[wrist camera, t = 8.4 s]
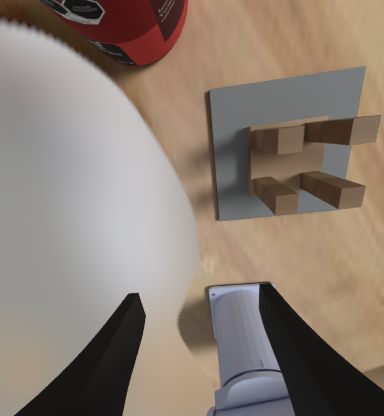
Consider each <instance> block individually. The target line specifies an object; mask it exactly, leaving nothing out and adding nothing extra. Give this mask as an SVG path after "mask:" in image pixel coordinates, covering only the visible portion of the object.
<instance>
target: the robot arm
mask: <svg viewBox="0 0 384 416" xmlns="http://www.w3.org/2000/svg"><path fill="white" fill-rule="evenodd" d="M212 293H214V294H212ZM209 298H210V307H211V315H212V323H213V332H214V338H215V339H216V340H217V350H218V362H219V374H220V386H221V389H219V390H216V391H215V407H211V408H210V410H209V411H208V413H207V416H384V390H383V389H381V388H380V387H379V386H378V385H376V384H375V383H374V382H372V381H371V380H370V379H369V378H367V377H366V376H365V375H364V374H362V373H361V372H360V371H359V370H357V369H356V368H355V367H354V366H352V365H351V364H350V363H349V362H348V361H347V360H345V359H344V358H343V357H342V356H341V355H340V354H338V353H337V352H336V351H335V350H334V349H333V348H332V347H331V346H329V345H328V344H327V343H326V342H325V341H324V340H323V339H322V338H321V337H320V336H319V335H318V334H317V333H316V332H315V331H314V330H313V329H312V328H311V327H310V326H309V325H308V324H307V323H306V322H305V321H304V320H303V319H302V318H301V317H300V316H299V315H298V314H297V313H296V312H295V311H294V310H293V309H292V307H291V306H290V305H289V304H288V303H287V302H286V301H285V300H284V298H283V297H282V296H281V295H280V294H279V293H278V291H277V290H276V289H275V286H274V284H273V283H258V284H243V285H229V286H214V287H210V288H209ZM145 318H146V315H145V312H144V309H143V306H142V303H141V299H140V296H139V293H130V294H128V295H127V296H126V298H125V299H124V300H123V301H122V303H121V304H120V305H119V307H118V308H117V309H116V311H115V312H114V313H113V314H112V316H111V317H110V318H109V320H108V321H107V322H106V323H105V325H104V326H103V327H102V328H101V330H100V331H99V332H98V333H97V334H96V336H95V337H94V338H93V339H92V340H91V341H90V343H89V344H88V345H87V346H86V347H85V348H84V349H83V350H82V352H81V353H80V354H79V355H78V356H77V357H76V358H75V359H74V360H73V361H72V362H71V363H70V365H68V367H66V368H65V369H64V370H63V371H62V372H61V373H60V375H58V376H57V377H56V378H55V379H54V380H53V381H52V382H51V383H50V384H49V385H48V386H47V387H46V388H45V389H44V390H43V391H41V393H40V394H39V395H37V396H36V397H35V398H34V399H33V400H31V401H30V402H29V403H28V404H27V405H26V406H25V407H24V408H22V409H21V410H20V411H19V412H18V413H16V415H14V416H122V414H123V410H124V405H125V399H126V395H127V390H128V386H129V382H130V379H131V375H132V371H133V368H134V364H135V361H136V357H137V354H138V350H139V347H140V343H141V339H142V336H143V330H144V325H145Z"/></svg>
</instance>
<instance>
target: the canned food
mask: <svg viewBox="0 0 384 416" xmlns="http://www.w3.org/2000/svg"><path fill="white" fill-rule="evenodd" d="M39 1H40V2H42V3H43V4H44V5H45V6H46V7H48V8H49V9H50V10H51V11H53V12H54V13H55V14H56V15H58V16H59V17H60V18H61V19H62V20H64V21H65V22H66V23H67V24H69V25H70V26H71V27H72V28H73V29H75V30H76V31H77V32H78V33H80V34H81V35H82V36H83V37H84V38H86V39H87V40H88V41H89V42H91V43H92V44H93V45H94V46H95V47H97V48H98V49H99V50H100V51H102V52H103V53H104V54H105V55H107V56H108V57H109V58H111V59H113V60H115V61H117V62H119V63H122V64H126V65H134V66H141V65H147V64H151V63H153V62H155V61H158V60H159V59H161V58H162V57H163V56H165V55H166V54H167V53H168V52H169V51H170V50H171V49H172V47H173V46H174V44H175V43H176V41H177V39H178V38H179V36H180V33H181V31H182V28H183V26H184V23H185V19H186V14H187V8H188V0H39Z"/></svg>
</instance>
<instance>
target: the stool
mask: <svg viewBox="0 0 384 416" xmlns="http://www.w3.org/2000/svg"><path fill="white" fill-rule="evenodd" d="M380 119H381V115H375V116H364V117H354V118H343V119H333V120H328V116H321V117H314V118H307V119H300V120H293V121H286V122H279V123H272V124H265V125H258V126H251V127H247V153H248V193H249V194H250V195H251V197H253V196H258V197H259V198H260V199H261V201H262V202H263V203H264V204H265V205H266V206H267V207H268V208H269V209H270V210H271V211H272V213H273V214H274V215H275V216H279V215H288V214H297V209H298V197H299V193H297V192H298V191H306V192H308V193H310V194H311V195H313V196H315V197H317V198H319V199H321V200H322V201H324V202H326V203H328V204H330V205H331V206H333V207H335V208H337V209H347V208H356V207H361V205H362V201H363V196H364V192H365V187H366V186H364V185H361V184H358V183H354V182H351V181H348V180H345V179H342V178H339V177H336V176H333V175H330V174H327V173H323V172H322V164H323V156H324V148H325V143H327V144H339V145H357V144H364V143H372V142H376V137H377V132H378V128H379V123H380Z"/></svg>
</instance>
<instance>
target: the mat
mask: <svg viewBox="0 0 384 416" xmlns="http://www.w3.org/2000/svg"><path fill="white" fill-rule="evenodd" d="M365 69H366V66H364V67H357V68H351V69H344V70H337V71H331V72H324V73H317V74H311V75H304V76H297V77H291V78H284V79H277V80H271V81H264V82H257V83H251V84H244V85H237V86H231V87H224V88H217V89H211V90H209V93H210V106H211V119H212V132H213V145H214V158H215V171H216V184H217V197H218V210H219V221H228V220H238V219H249V218H259V217H270V216H275V215H274V214H273V213H272V211H271V210H270V209H269V208H268V207H267V206H266V205H265V204H264V203H263V202H262V201H261V199H260V198H259V197H258V196H253V197H251V195H250V194H249V193H248V153H247V127H251V126H258V125H265V124H272V123H279V122H286V121H293V120H300V119H307V118H314V117H321V116H328V120H333V119H343V118H354V117H357V113H358V107H359V102H360V96H361V91H362V85H363V80H364V75H365ZM350 151H351V145H339V144H327V143H325V148H324V156H323V164H322V172H323V173H327V174H330V175H333V176H336V177H339V178H342V179H345V178H346V172H347V167H348V161H349V156H350ZM297 193H299V197H298V209H297V214H302V213H312V212H323V211H333V210H340V209H337V208H335V207H333V206H331V205H330V204H328V203H326V202H324V201H322V200H321V199H319V198H317V197H315V196H313V195H311V194H310V193H308V192H306V191H298V192H297ZM288 215H291V214H288ZM279 216H281V215H279Z"/></svg>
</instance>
